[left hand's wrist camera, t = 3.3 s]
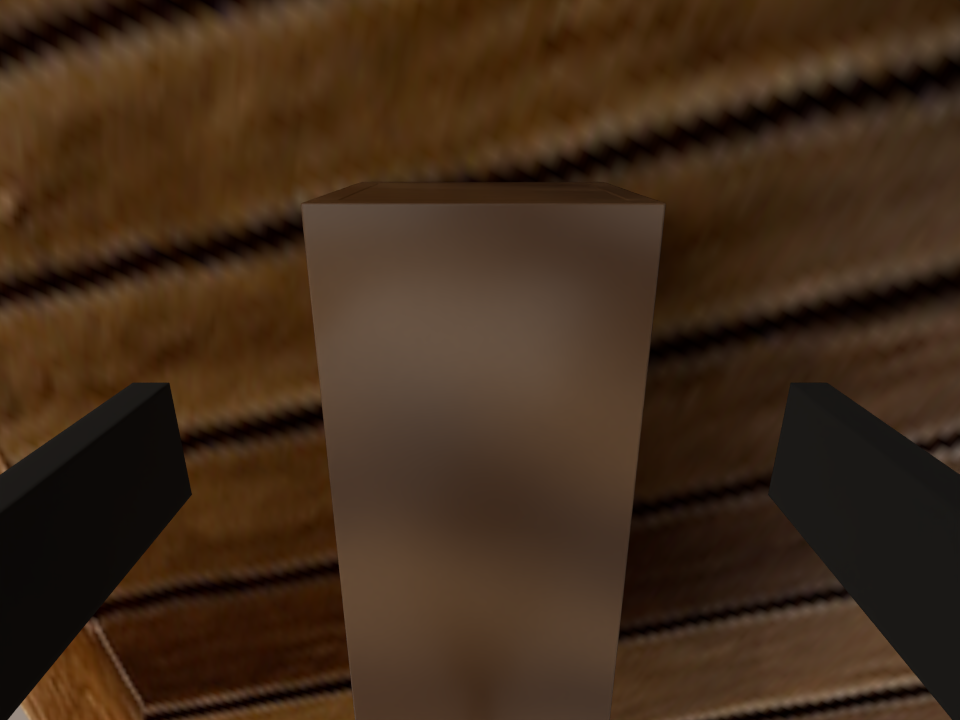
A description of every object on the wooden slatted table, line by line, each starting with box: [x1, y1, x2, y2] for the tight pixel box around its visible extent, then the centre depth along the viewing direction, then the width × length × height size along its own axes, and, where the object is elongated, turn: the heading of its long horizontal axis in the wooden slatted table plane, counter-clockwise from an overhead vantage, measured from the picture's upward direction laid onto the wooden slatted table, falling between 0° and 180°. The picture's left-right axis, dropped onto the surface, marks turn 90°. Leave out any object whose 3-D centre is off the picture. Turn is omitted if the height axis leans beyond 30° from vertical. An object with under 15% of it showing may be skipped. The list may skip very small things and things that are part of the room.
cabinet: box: [301, 182, 666, 720], centre depth 23 cm, size 20×10×8 cm, turn 0°
